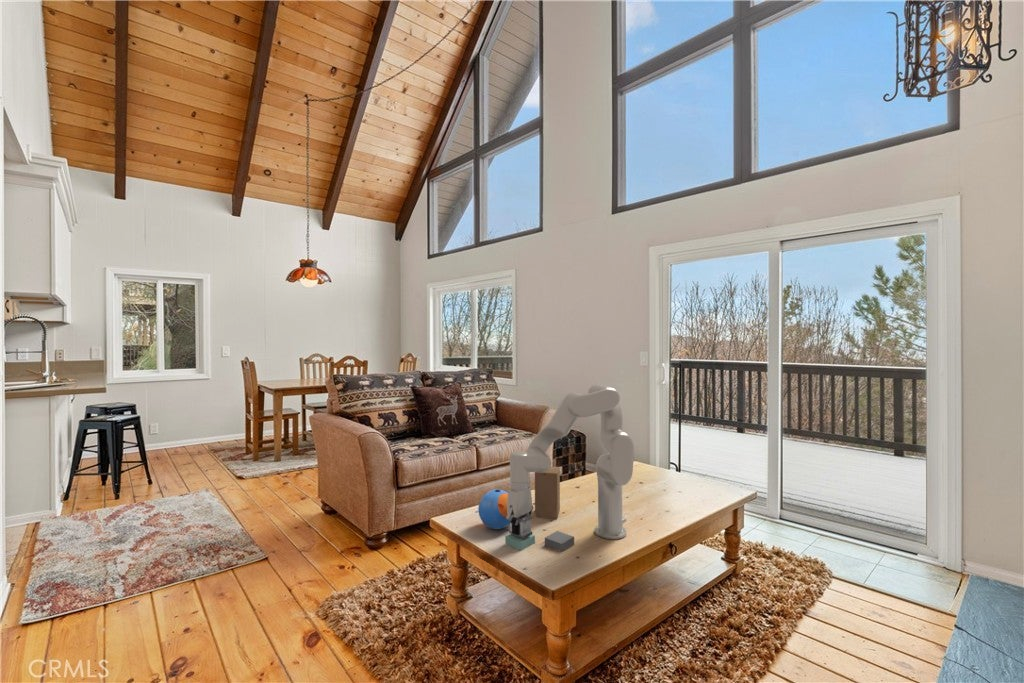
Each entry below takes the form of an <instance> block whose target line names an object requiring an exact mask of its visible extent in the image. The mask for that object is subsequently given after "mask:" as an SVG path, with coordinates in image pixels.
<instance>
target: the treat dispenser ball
mask: <svg viewBox="0 0 1024 683" xmlns="http://www.w3.org/2000/svg"><path fill="white" fill-rule="evenodd" d="M507 499H508V492H507V491H505V490H502V489H491V490H489V491H487V492H486V493H485V494H484V495H483V496H482V497H481V499H480V501H479V503H478V516H479V518H480V521H481V522H482V523H483V525H484V526H486V527H488V528H490V529H493V530H501V529H504V528H506V527H507V526H509V525H510V521H509V520H507V519H506V517H507Z"/></svg>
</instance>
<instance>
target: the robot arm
mask: <svg viewBox="0 0 1024 683" xmlns="http://www.w3.org/2000/svg"><path fill="white" fill-rule="evenodd" d="M620 399H621V398H620V394H619V392H618V390H616V388H613V387H611V386H608V385H607V386H606V385H605V384H598V383H597V384H592V385H591V386H590V387H589V389H588V390H587V393H586V394H583V393H578V392H569V393H567V394H566V395H565V396H564V398H563V399H562V401H561V403H559V404H560V405H559V406H558V408H557V409H556V411H555V413H554V414H553V416H551V419H550V420H549V421H548V423H547V424H546V425H545V426H543V427H542V429H540V430H539V431H538V433H537V434H535V436H534V438H533V439H532V440H531V442H530V443H529V445H528V447H527V448H526V451H523V450H516V451H513V452H511V453H510V455H509V485H510V486H509V489H508V492H507V493H508V499H507V517H506V519H507V520H509V521H510V523H511V524H512V534H515V535H519V525H518V520H519V517H520V516H522V515H524V514H528V515H531V516H532V512H533V510H534V509H535V506H534V505H533V497H532V495H533V494H532V490H531V480H530V478H531V476H530V474H531V472H533V473H535V472H545V471H547V470H548V469H549V468H550V467H552V466H551V465H552V459H551V458H550V456H549V454H547V451H548V450H549V448H550V447H551V445H553V443H554V442H556V441H557V440H559V439H561V438H565V437H566V436H568V435H569V433H570V431H571V430H572V428H573V427H574V425H575V423H576V422H577V421H578V419H579V418H586V417H587V418H588V417H591V416H596V415H600V432H599V433H600V434H599V436H600V437H599V442H600V446H601V447H602V448H603V449H604V450H605V451H607V452H609V453H604V454H600V456H599V457H598V458H597V461H596V465H595V470H596V472H595V473H596V477H597V492H598V493H597V512H598V513H597V518H598V519H597V525H596V526H595V527H594V530H593V531H594V533H595V535H596V536H598V537H600V538H602V539H605V540H606V539H607V540H619V539H622V538H624V537H625V536H627V530H626V529H625V527H623V525H624V523H626V522H627V518H626V517H624V516H623V486H626V485H627V484H628V483H630V482H631V479H632V477H633V474H634V454H635V448H634V446H635V445H634V442H633V438H632V437H631V436H630V435H629V434H628V433H627V432H624V429H623V411H622V408H621V405H620ZM514 517H515V518H516V520H514Z"/></svg>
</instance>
